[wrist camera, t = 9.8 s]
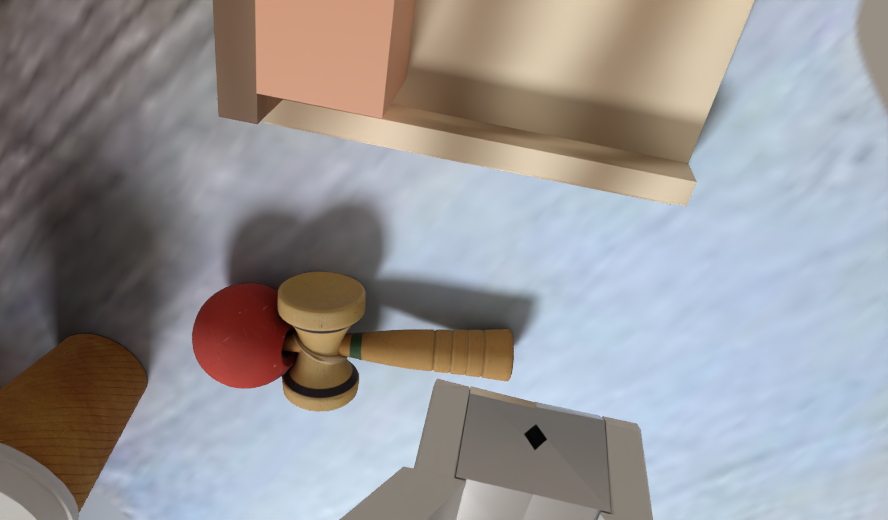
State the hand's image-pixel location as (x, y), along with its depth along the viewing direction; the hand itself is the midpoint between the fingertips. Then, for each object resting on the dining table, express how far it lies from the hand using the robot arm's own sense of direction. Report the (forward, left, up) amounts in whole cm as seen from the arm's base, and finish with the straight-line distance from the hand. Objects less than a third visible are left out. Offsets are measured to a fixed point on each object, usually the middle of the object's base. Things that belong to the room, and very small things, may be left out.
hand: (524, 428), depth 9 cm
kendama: (+6, +18, -23) cm, 29 cm away
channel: (+2, 0, -22) cm, 22 cm away
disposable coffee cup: (+24, +27, -23) cm, 43 cm away
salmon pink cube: (+8, 0, -21) cm, 23 cm away
